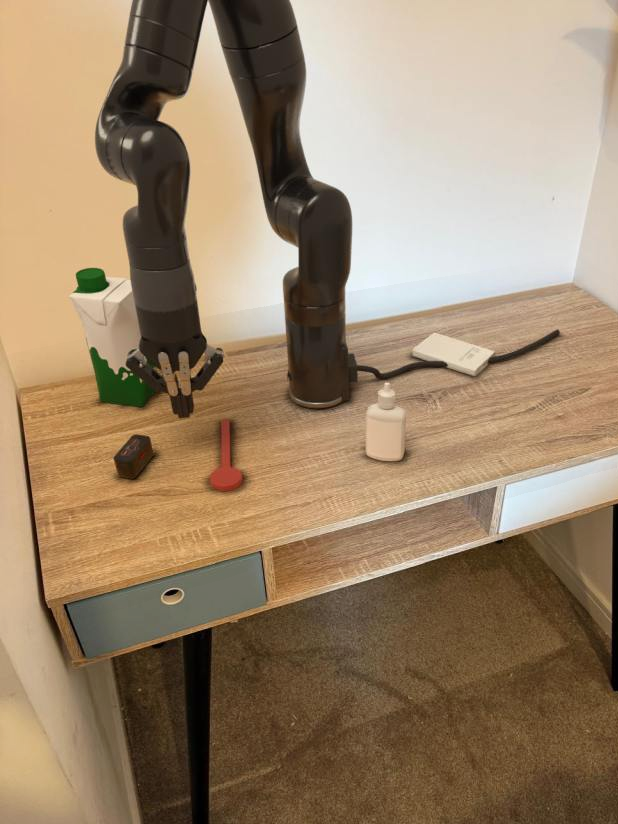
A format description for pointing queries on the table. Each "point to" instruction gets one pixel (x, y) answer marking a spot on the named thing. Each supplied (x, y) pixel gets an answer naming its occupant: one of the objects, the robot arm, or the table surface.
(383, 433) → the eye dropper bottle
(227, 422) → the spoon
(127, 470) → the black gauge box
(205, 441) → the table surface
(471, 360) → the hard drive
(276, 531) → the table surface
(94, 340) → the milk carton
